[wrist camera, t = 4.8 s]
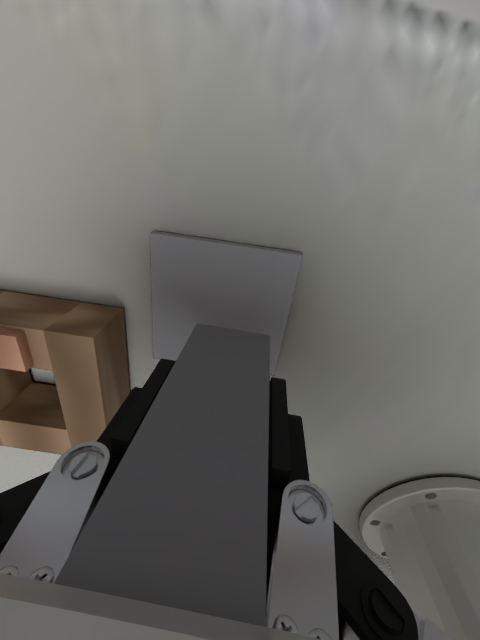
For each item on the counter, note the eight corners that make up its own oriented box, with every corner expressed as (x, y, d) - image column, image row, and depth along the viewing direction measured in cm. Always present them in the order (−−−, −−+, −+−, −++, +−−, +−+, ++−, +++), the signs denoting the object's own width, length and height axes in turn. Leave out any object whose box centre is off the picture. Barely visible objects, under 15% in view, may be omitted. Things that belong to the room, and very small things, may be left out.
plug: (270, 335, 13) (263, 761, 3) (258, 393, 15) (230, 798, 5) (196, 323, 13) (-12, 701, 4) (192, 381, 15) (40, 756, 5)
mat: (301, 252, 15) (302, 255, 14) (273, 370, 19) (274, 375, 18) (153, 230, 15) (149, 233, 14) (155, 352, 19) (152, 357, 18)
